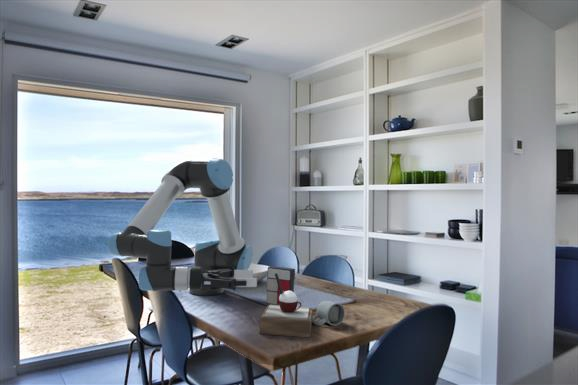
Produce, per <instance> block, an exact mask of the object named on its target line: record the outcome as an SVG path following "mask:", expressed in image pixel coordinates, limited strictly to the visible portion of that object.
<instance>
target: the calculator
mask: <svg viewBox="0 0 578 385" xmlns="http://www.w3.org/2000/svg"><path fill="white" fill-rule="evenodd" d="M276 273H277V274H278V277H279V280H280V284H281V287H282V290H283V293H284V292H285V291H292V292H294V290H295V289H294V288H295V278H296V269H295V268H292V267H291V268H290V267H283V266H275V265H274V266H273V265H272V266H268V267H267V275H266V276H267V278H266V304H268V305H279V296H280V294H281V293H280V290H279V287H278V283H277V280H276V277H275V274H276ZM294 293H295V292H294Z"/></svg>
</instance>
